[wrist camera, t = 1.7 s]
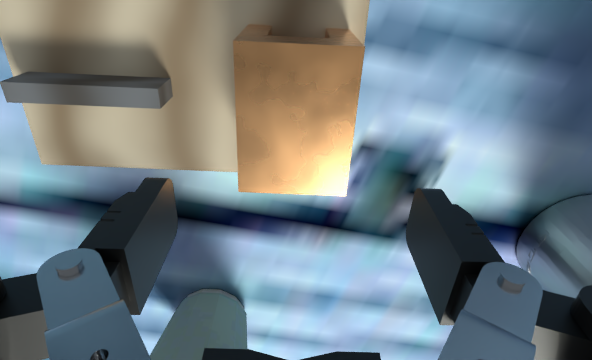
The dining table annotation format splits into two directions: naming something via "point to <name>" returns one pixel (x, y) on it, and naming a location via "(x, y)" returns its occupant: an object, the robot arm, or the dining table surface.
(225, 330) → the disposable coffee cup
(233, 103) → the board
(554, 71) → the dining table surface
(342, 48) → the cardboard box
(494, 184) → the dining table surface
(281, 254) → the dining table surface
